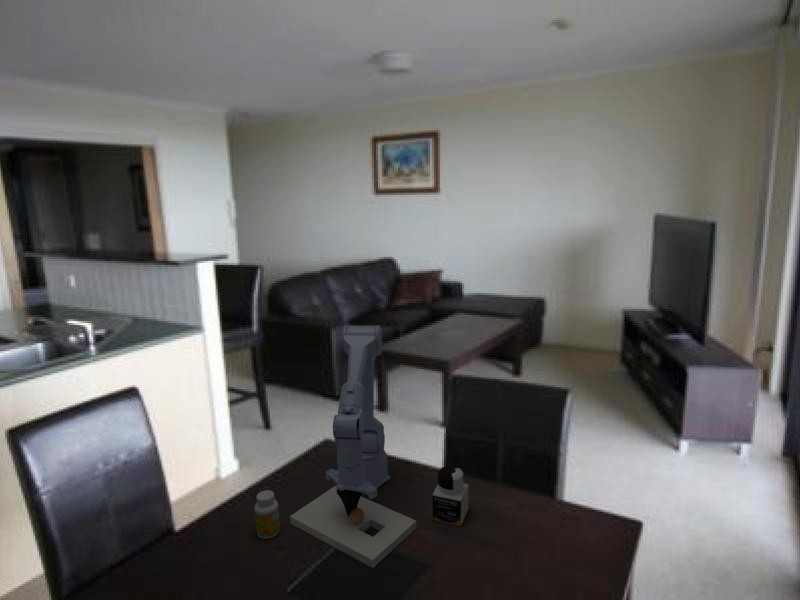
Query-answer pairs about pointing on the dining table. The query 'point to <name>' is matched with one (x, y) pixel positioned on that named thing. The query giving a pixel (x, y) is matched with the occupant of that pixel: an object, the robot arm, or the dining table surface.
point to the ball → (357, 515)
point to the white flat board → (354, 527)
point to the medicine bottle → (450, 496)
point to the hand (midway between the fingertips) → (352, 515)
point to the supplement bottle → (267, 515)
